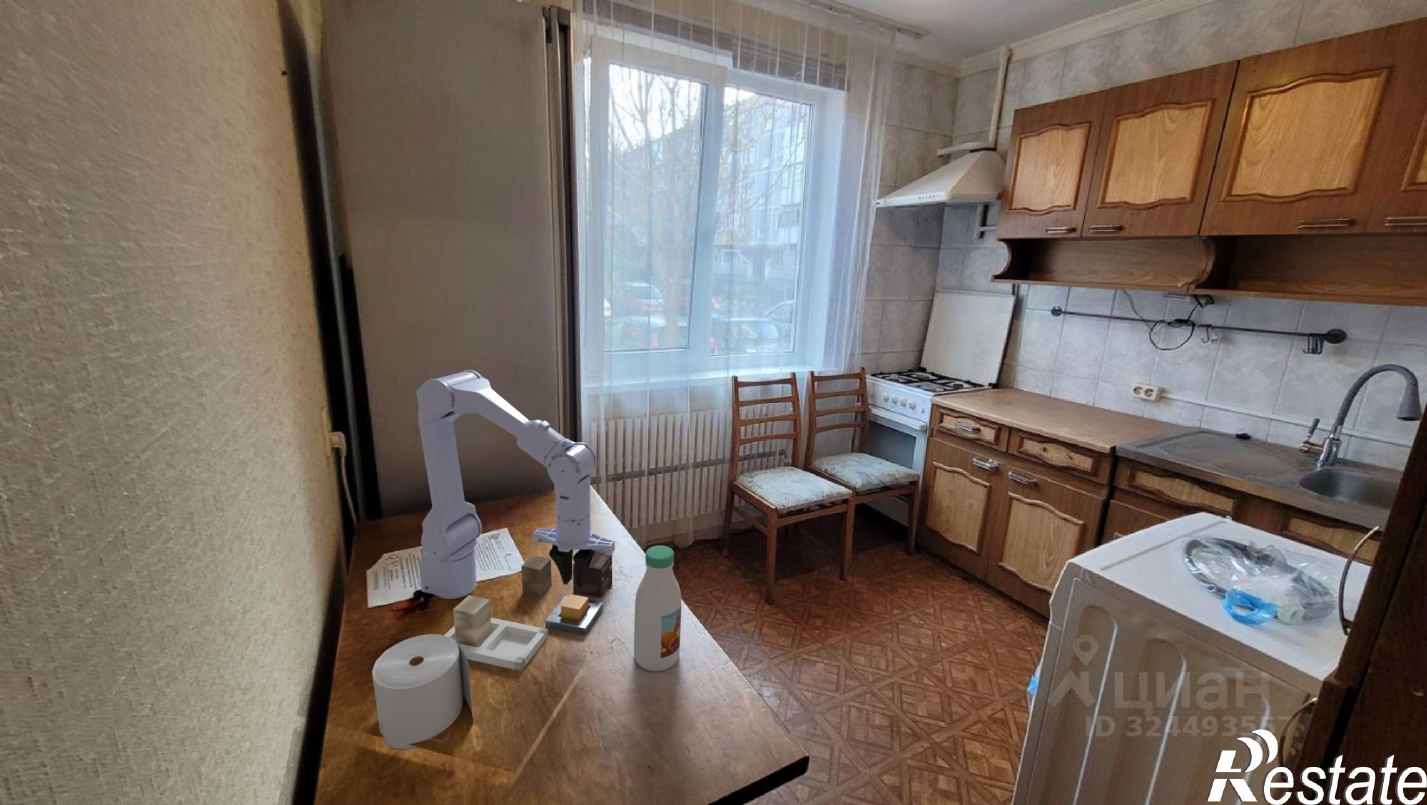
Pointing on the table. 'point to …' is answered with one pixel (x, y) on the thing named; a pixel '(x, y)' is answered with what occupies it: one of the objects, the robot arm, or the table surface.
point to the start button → (574, 607)
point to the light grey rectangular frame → (506, 644)
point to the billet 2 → (536, 576)
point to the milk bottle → (657, 612)
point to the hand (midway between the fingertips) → (574, 582)
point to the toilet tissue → (420, 688)
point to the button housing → (572, 625)
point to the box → (596, 576)
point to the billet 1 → (472, 621)
